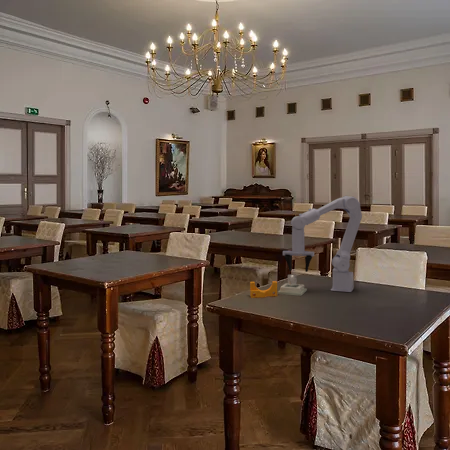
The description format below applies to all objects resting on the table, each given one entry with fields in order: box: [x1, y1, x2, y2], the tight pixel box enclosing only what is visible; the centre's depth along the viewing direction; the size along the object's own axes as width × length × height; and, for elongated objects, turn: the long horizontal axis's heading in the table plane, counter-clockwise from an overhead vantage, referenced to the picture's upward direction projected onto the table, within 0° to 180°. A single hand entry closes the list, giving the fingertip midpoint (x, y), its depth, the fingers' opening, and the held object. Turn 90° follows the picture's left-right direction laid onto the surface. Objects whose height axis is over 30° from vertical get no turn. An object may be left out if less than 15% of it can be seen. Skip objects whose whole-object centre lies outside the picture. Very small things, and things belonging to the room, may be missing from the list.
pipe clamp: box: [249, 280, 278, 299], centre depth 220 cm, size 12×4×6 cm, turn 91°
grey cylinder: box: [287, 273, 298, 288], centre depth 227 cm, size 4×4×7 cm
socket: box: [277, 282, 308, 297], centre depth 227 cm, size 11×11×3 cm
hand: (298, 271), depth 230 cm, fingers open, 7 cm apart
